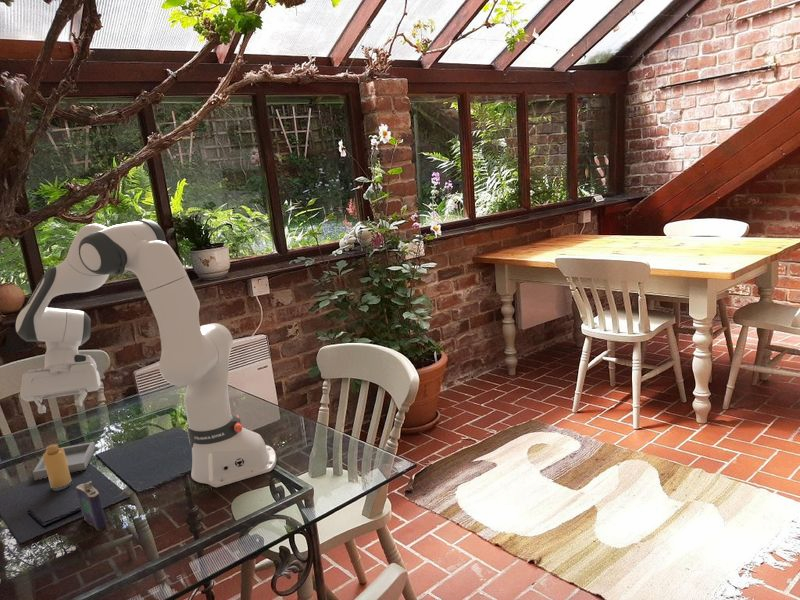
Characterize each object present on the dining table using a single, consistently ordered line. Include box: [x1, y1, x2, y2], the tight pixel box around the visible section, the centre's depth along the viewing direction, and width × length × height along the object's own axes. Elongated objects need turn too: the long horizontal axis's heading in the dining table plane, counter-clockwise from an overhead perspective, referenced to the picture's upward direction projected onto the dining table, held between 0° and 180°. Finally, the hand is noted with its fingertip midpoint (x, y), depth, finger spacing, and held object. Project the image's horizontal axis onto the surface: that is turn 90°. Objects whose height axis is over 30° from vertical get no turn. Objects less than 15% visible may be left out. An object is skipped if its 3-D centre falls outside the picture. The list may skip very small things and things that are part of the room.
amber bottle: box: [42, 443, 73, 489], centre depth 160 cm, size 5×5×12 cm
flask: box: [75, 480, 108, 531], centre depth 143 cm, size 9×3×11 cm, turn 50°
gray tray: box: [32, 441, 97, 481], centre depth 173 cm, size 13×13×2 cm
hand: (60, 409), depth 169 cm, fingers open, 8 cm apart
